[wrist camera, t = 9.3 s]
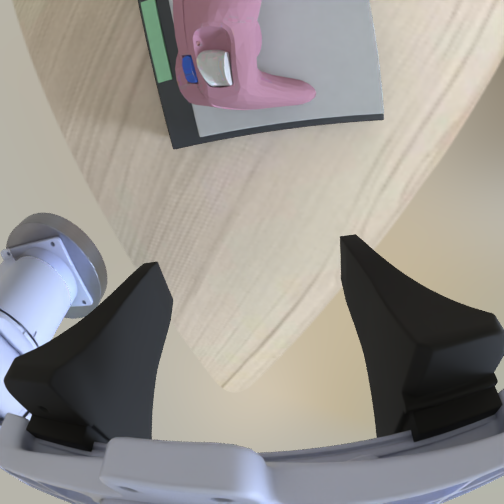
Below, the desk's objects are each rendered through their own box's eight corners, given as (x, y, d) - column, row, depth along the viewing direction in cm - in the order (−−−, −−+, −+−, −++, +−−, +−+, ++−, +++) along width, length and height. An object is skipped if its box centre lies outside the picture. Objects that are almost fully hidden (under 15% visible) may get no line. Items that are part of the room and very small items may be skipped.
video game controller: (243, -57, 11) (154, -96, 6) (325, -65, 9) (261, -129, 4) (240, 99, 16) (149, 121, 11) (320, 108, 15) (255, 130, 9)
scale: (180, 141, 19) (170, 153, 17) (139, -42, 12) (124, -53, 10) (373, 114, 17) (388, 122, 15) (339, -74, 10) (349, -89, 8)
